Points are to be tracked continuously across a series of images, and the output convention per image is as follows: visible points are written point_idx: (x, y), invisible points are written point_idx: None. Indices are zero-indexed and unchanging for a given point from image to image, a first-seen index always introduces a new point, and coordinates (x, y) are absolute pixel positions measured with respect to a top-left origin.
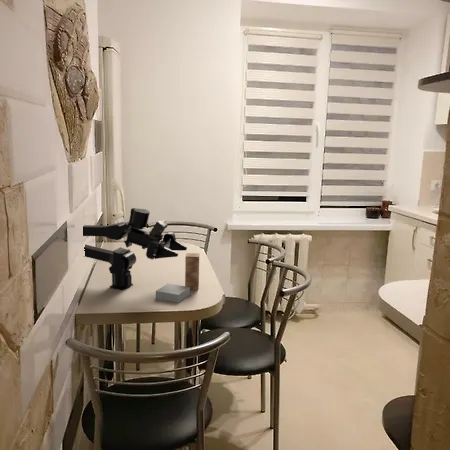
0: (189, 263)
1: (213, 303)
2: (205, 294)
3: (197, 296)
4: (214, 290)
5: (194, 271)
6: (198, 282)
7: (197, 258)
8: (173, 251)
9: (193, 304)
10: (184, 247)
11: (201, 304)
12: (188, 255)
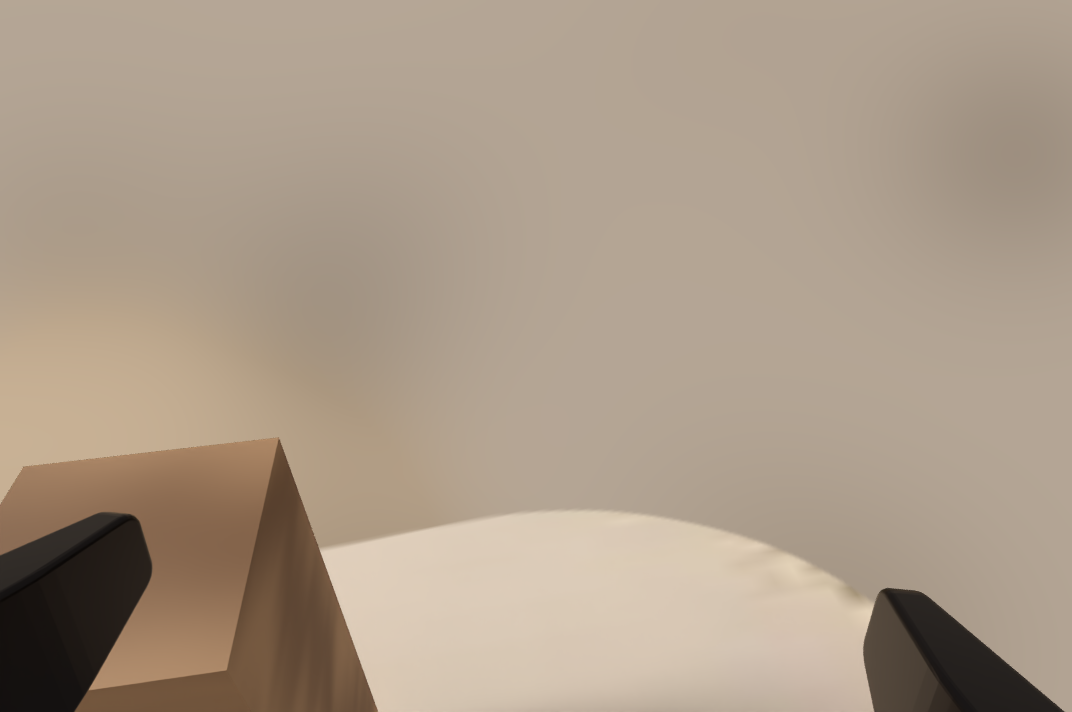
0: (284, 664)
1: (704, 531)
2: (498, 629)
3: (573, 698)
4: (376, 569)
5: (330, 652)
6: (362, 678)
7: (280, 478)
8: (1016, 709)
9: (812, 693)
10: (87, 567)
11: (773, 619)
12: (143, 622)
